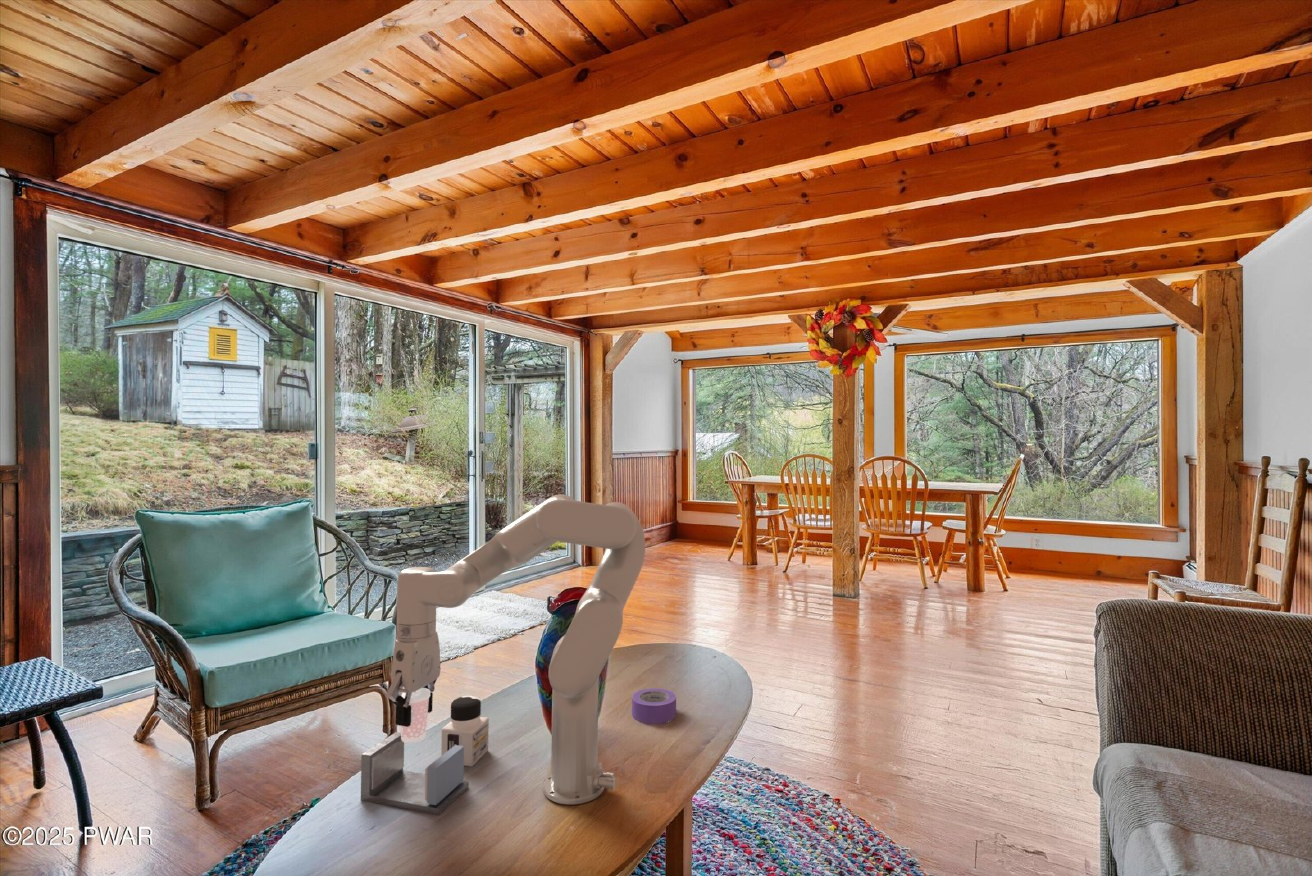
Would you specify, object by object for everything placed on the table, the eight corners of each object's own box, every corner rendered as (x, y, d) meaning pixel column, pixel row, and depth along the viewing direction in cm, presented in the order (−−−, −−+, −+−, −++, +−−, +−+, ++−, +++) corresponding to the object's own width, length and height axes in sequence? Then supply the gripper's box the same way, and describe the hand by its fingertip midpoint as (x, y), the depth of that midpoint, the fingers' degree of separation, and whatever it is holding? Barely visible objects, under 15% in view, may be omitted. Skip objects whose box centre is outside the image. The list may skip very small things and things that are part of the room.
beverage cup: (397, 733, 126) (399, 665, 126) (429, 729, 128) (431, 661, 129) (396, 747, 120) (398, 675, 121) (429, 742, 123) (431, 671, 123)
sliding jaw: (463, 780, 126) (463, 746, 126) (435, 805, 117) (436, 768, 117) (452, 778, 127) (453, 744, 127) (424, 803, 118) (425, 766, 118)
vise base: (468, 787, 126) (469, 743, 126) (438, 815, 117) (439, 767, 117) (394, 774, 131) (395, 732, 131) (360, 800, 121) (361, 754, 122)
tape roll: (623, 717, 161) (623, 698, 161) (648, 702, 170) (648, 684, 170) (660, 729, 154) (660, 709, 154) (684, 713, 164) (684, 694, 164)
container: (472, 767, 134) (473, 707, 135) (440, 763, 136) (441, 704, 136) (488, 750, 142) (489, 694, 142) (458, 747, 144) (459, 691, 144)
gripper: (403, 643, 115) (401, 740, 115) (457, 619, 132) (455, 704, 132) (370, 639, 118) (368, 734, 117) (427, 616, 134) (425, 699, 134)
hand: (414, 717), depth 124 cm, fingers closed on beverage cup, 6 cm apart
